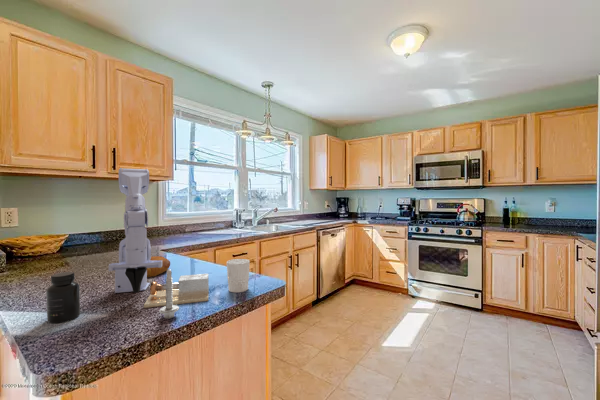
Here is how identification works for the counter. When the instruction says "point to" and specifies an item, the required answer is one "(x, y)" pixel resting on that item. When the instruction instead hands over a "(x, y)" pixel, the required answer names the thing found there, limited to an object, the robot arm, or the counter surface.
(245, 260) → the white cup
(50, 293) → the supplement bottle
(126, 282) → the robot arm
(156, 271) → the croissant
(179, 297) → the bearing block
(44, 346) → the counter surface
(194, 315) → the counter surface
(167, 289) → the screw
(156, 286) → the shaft
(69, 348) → the counter surface
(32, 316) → the counter surface
